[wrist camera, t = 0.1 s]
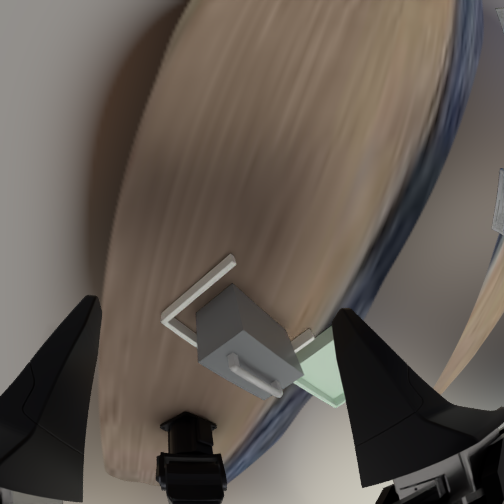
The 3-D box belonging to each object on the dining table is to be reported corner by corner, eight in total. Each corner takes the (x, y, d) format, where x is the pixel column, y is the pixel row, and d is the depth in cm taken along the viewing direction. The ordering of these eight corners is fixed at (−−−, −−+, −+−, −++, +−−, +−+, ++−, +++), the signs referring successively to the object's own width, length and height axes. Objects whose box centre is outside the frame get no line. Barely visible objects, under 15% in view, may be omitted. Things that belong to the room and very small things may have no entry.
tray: (331, 399, 40) (335, 408, 38) (278, 363, 34) (282, 375, 32) (387, 359, 39) (393, 367, 37) (350, 310, 32) (357, 320, 30)
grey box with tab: (251, 353, 32) (267, 413, 24) (195, 312, 28) (199, 378, 21) (285, 329, 31) (310, 388, 24) (232, 282, 28) (247, 345, 20)
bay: (249, 373, 34) (251, 382, 32) (161, 312, 28) (160, 322, 26) (311, 330, 32) (315, 338, 31) (230, 253, 26) (232, 260, 25)
